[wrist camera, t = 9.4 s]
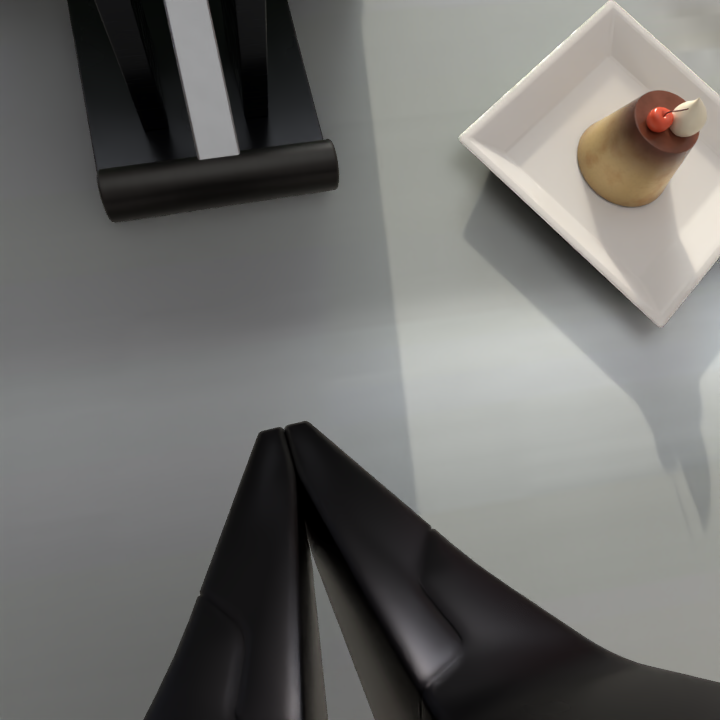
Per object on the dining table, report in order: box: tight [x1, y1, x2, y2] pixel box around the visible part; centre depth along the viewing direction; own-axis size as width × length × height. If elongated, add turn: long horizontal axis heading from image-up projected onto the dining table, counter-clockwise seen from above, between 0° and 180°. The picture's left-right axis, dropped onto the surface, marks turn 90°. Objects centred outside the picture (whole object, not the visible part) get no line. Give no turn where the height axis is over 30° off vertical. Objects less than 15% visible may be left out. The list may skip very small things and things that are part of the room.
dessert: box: [458, 0, 720, 328], centre depth 24 cm, size 12×12×5 cm
